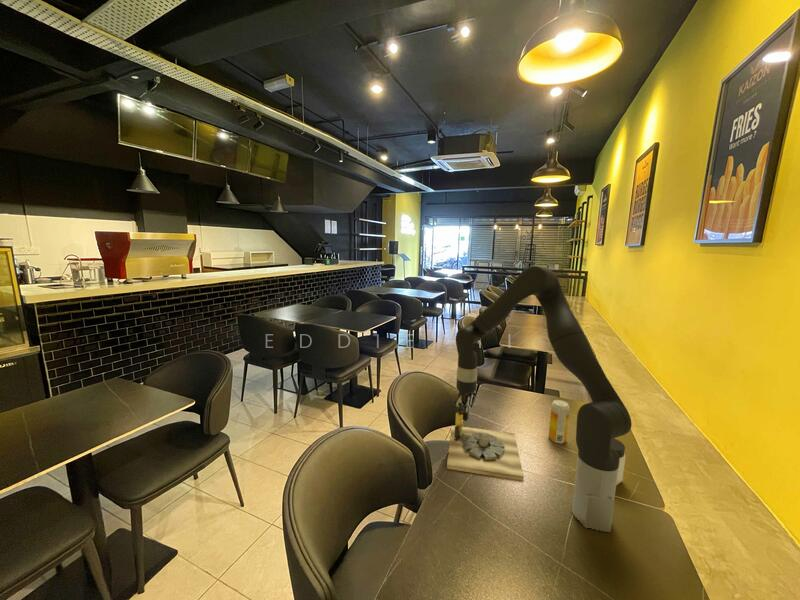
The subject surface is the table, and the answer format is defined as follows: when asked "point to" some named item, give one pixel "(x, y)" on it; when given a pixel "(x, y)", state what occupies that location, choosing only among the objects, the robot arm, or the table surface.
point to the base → (464, 462)
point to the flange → (472, 441)
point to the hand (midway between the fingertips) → (464, 419)
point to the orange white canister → (559, 421)
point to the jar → (620, 450)
